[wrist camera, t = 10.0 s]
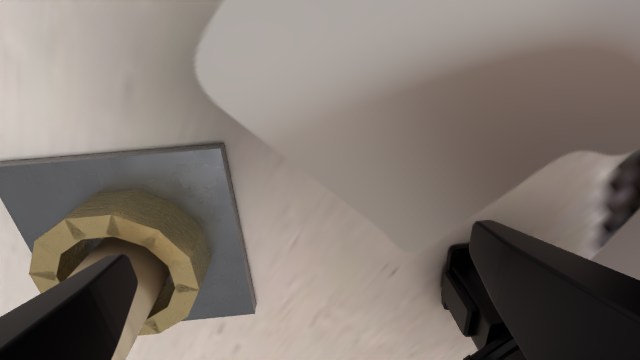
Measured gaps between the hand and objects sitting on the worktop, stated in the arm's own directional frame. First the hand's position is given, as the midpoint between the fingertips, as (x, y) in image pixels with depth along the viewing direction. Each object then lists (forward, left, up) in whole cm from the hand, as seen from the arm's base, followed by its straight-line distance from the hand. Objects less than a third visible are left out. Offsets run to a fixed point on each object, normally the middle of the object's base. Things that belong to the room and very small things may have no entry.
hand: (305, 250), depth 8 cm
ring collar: (+12, +8, -13) cm, 19 cm away
